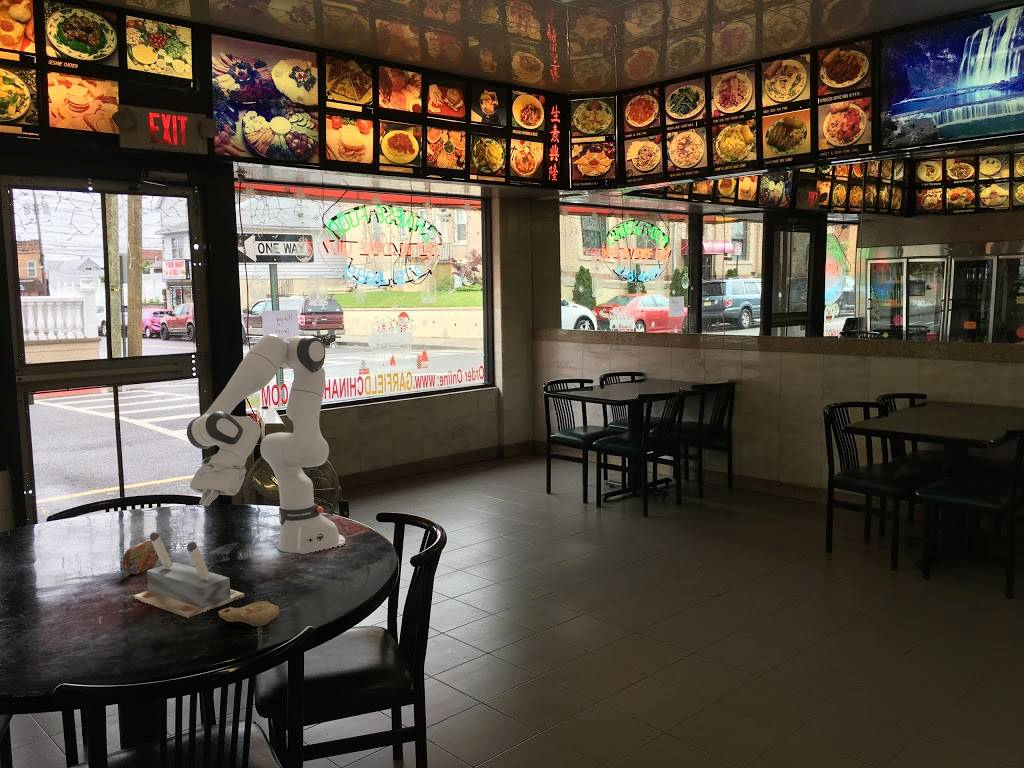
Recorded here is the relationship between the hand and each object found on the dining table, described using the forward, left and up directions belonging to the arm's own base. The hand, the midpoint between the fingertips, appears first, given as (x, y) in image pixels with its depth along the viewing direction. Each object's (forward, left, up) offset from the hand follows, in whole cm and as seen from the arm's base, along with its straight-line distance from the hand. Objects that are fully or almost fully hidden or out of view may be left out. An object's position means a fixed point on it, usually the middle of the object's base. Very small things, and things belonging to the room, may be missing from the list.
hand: (203, 505), depth 247 cm
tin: (+18, -22, -24) cm, 37 cm away
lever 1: (+11, +4, -17) cm, 20 cm away
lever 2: (+2, +19, -17) cm, 26 cm away
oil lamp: (-7, +39, -24) cm, 46 cm away
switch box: (+6, +12, -24) cm, 27 cm away
